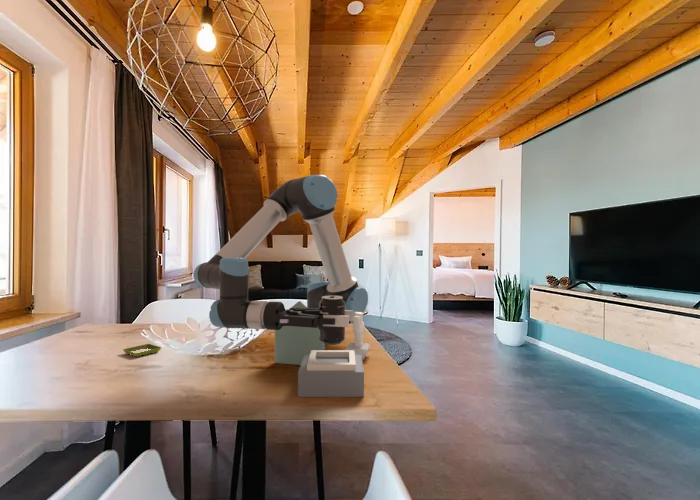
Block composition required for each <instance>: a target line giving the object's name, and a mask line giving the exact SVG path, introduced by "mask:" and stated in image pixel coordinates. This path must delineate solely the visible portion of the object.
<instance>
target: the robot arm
mask: <svg viewBox="0 0 700 500" xmlns="http://www.w3.org/2000/svg"><path fill="white" fill-rule="evenodd" d="M337 198H338V191H337V188H336V185H335V184H334V182H333V181H332V180H331V178H329V177H327V176H326V175H324V174H310V175H307V176H306V175H305V176H302V177H299V178H293V179H290V180H287V181H285V182H283V184H281V185H280V186H279V187H278V188H276V189H275V190H274V191H273V192H272V193H271V194H270V195H269V196H268V197H266V199H265V200H264V201H263V206H262V207H261V208H260V209H259V210H258V211H257V212H256V213H255V215H253V216H252V217H251V218H250V219H249V220H248V221H247V222H246V223H245V224H244V225H243V226H242V227H241V228H240V230H238V231H237V232H236V233H235V234H234V236H233V237H232V236H231V238H230V240H228V242H227V243H226V244H224V245H223V247H221V248H220V249H219V250H218V252H216V253H215V254H214V255H213V256H212V257H211V258H210V259H209V260H208V261H207V262H202V263H200V264H198V265H197V266H196V267H195V269H194V270H193V271H194V272H193V281H195V283H196V284H197V285H198V286H201V287H203V288H205V289H214V290H218V291H219V299H218V300H215V301H213V303H212V304H211V305H210V311H209V317H208V318H209V320H210V321H209V322H210V323H211V325H213V327H216V328H225V329H249V330H250V329H251V330H255V332H259V331H260V330H268V331H275V330H280V329H281V328H282V327H283V326H296V327H311V328H317V327H318V329H322V324H323V326H333V327H345V328H349V327H350V322H353V317H354V313H355V312H362V313H363V314H364V313H365V311H366V309H367V306H368V303H369V294H368V292H367V290H366V288H364V287H362V286H359V284H358V280H357V278H356V277H355V276H352V274H351V271H350V267H349V265H348V262H347V258H346V255H345V252H344V248H343V246H342V241H341V239H340V236H339V232H338V229H337V226H336V222H335V220H334V214H335V211H336V209H335V206H336V204H337V202H338V199H337ZM297 213H300V215H301V217H302V220H303V221H304V222H306V223H308V224H309V227H310V228H309V229H310V230H311V235H312V237H313V239H314V243H315V246H316V248H317V251H318V255H319V257H320V260H321V263H322V265H323V270H324V272H325V275H326V278H327V281H325V280H324V281H315V282H310V283H308V285H307V289H306V290H307V291H306V304H307V305H306V307H307V308H291V307H289V308H288V309H286V307H285V305H284V303H283V302H282V301H267V300H249V279H250V278H249V275H250V270H249V262H248V261H249V260H248V259H247V258H248V257H249V255H250V254H251V253H252V252H253V251H254V250H255V249H256V248H257V246H258V245H259V244H260V243H261V242H262V241H263V240H264V239H265V238H266V237H267V236H268V235H269V234H270V233H271V231H272V230H273V229H275V227H277V225H278V224H279V223H280V222H284V221H286V220H287V218H289V217H290V216H292V215H294V214H297ZM323 296H342V297H343V301H344V302H345V316H343V315H323V318H322V316H321V315H319V303H320V301H321V300H322V297H323Z"/></svg>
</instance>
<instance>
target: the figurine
mask: <svg viewBox="0 0 700 500" xmlns="http://www.w3.org/2000/svg"><path fill="white" fill-rule="evenodd" d="M363 318H364V313H362V312H355V313H354V317H353V321H352V331H353V333H354V342H349V343H348V345H347V346H346V347H345V350H354V352H355V355H361V357H362V360H365V358H366V357H367V355H368V352H369V349H370V347H371V343H364V342H363V338H364V337H363V336H364V335H365V322H364V321H363V320H364V319H363Z"/></svg>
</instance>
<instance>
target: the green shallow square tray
mask: <svg viewBox="0 0 700 500" xmlns="http://www.w3.org/2000/svg"><path fill="white" fill-rule="evenodd" d="M147 348H148V349H151V350H148V351H144V352H140V353H133V352H131V351H136V350H140V349H147ZM161 349H162V347H161V346H159V345H155V344H151V343H146V344H141V345H136V346H132V347H127V348H123V349H122V350H123V352H124V353H125V354H126V353H128V354H131V355H133V356H132V357H134V356H141V355H145V356H147V355H146V354H149V355H151V354H150V353H153V354H156V353H155V352H157V353H159V351H160V350H161ZM128 354H127V355H128ZM131 355H130V356H131ZM141 357H142V356H141Z"/></svg>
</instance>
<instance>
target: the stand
mask: <svg viewBox="0 0 700 500" xmlns="http://www.w3.org/2000/svg"><path fill="white" fill-rule="evenodd" d="M363 363H364V362H363V359H362V357H361V355H355V352H354V350H346V349H341V350H340V349H339V350H338V349H337V350H336V349H335V350H334V349H332V350H331V349H327V350H326V349H325V350H311V353H310V354H305V355H304V358H303V360H302V363H301V365H299V366H300V367H299V368H298V371H297V398H361V397H362V398H364V397H365V370H364V364H363Z"/></svg>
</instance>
